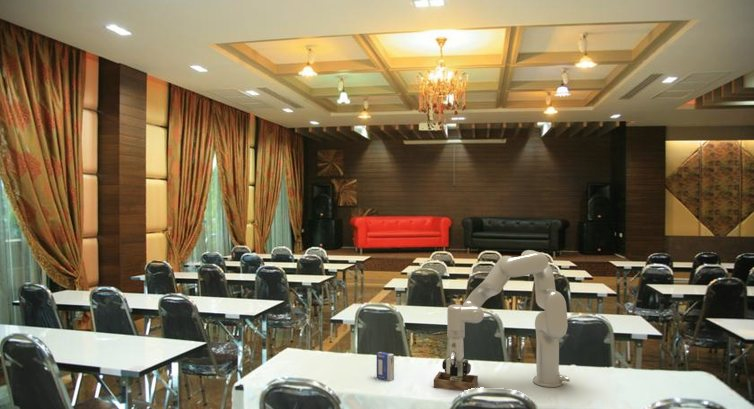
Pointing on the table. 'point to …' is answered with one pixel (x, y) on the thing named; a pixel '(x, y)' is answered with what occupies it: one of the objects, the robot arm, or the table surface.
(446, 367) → the pneumatic valve
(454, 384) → the wooden tray
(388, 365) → the walkman
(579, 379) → the table surface
